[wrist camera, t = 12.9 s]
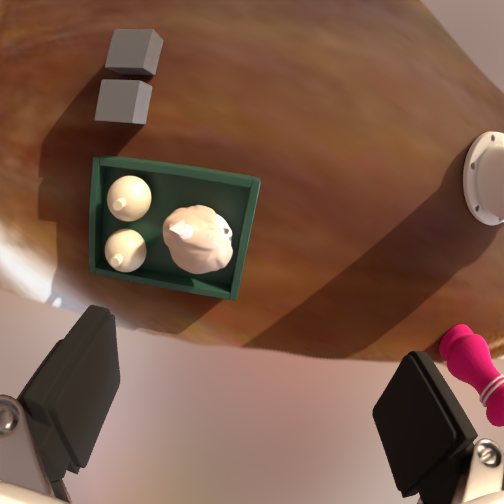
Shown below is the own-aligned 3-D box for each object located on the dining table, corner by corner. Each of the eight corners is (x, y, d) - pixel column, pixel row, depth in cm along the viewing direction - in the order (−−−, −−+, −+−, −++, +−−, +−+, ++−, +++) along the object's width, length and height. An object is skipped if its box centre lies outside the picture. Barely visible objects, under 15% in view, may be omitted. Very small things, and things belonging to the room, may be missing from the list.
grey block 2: (152, 86, 26) (140, 80, 23) (145, 124, 28) (132, 123, 24) (117, 85, 26) (101, 79, 22) (110, 121, 27) (94, 120, 24)
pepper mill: (432, 338, 39) (500, 432, 20) (468, 312, 38) (544, 394, 19) (438, 364, 41) (495, 451, 23) (471, 341, 40) (535, 419, 21)
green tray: (259, 177, 30) (261, 181, 28) (236, 289, 35) (236, 300, 32) (103, 154, 28) (93, 156, 26) (98, 263, 33) (89, 273, 30)
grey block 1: (163, 40, 24) (153, 29, 21) (155, 75, 26) (143, 68, 22) (128, 40, 24) (114, 29, 20) (119, 74, 25) (104, 67, 22)
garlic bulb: (236, 201, 30) (234, 224, 23) (232, 261, 33) (229, 299, 25) (170, 198, 30) (148, 218, 22) (170, 257, 32) (151, 293, 25)
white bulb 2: (153, 226, 31) (137, 244, 26) (150, 265, 32) (135, 287, 28) (115, 220, 30) (94, 236, 26) (113, 258, 32) (94, 278, 27)
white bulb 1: (159, 175, 29) (143, 184, 24) (154, 217, 31) (138, 233, 26) (119, 170, 29) (97, 178, 24) (115, 211, 30) (94, 226, 25)
